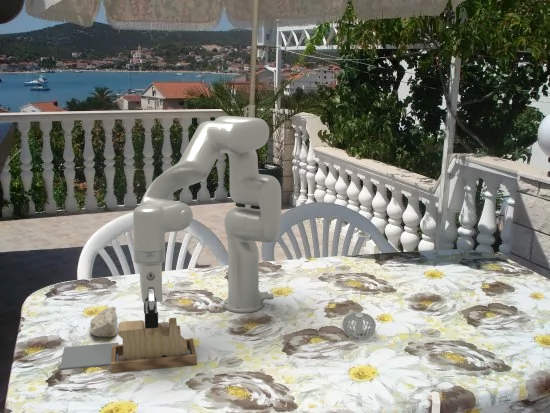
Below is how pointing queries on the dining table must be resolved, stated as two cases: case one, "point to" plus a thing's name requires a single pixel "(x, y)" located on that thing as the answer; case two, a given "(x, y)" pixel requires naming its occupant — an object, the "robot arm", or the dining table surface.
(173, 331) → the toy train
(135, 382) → the dining table surface
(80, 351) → the slate mat
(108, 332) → the stone
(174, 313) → the dining table surface
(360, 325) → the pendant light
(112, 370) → the pocket frame
